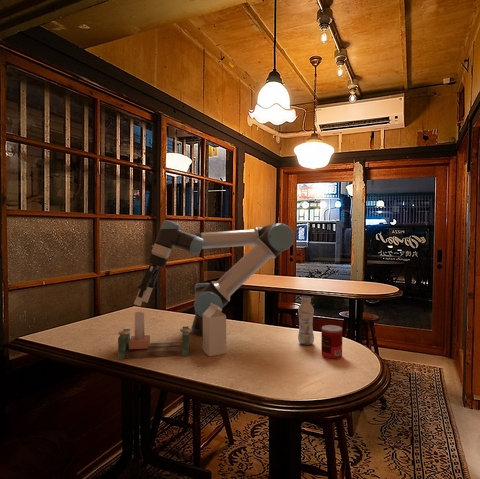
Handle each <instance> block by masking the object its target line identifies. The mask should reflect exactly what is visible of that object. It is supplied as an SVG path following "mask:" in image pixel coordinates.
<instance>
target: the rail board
mask: <svg viewBox="0 0 480 479" xmlns="http://www.w3.org/2000/svg"><path fill="white" fill-rule="evenodd" d="M179 332H180V333H181V334H182V340H181V341H171V342H170V341H168V342H167V341H166V342H165V341H164V342H150V344H149V347H148V348H144V349H129V341H130V339H131V328H123V329H122V330H120V331H118V332H117V334H118V335H119V336H118V338H117V339H118V340H117V346H118V347H117V349H118V351H117V354H118V355H117V356H118V357H117V359H118V360H126V359H130V358H131V359H134V358H135V359H136V358H152V357H154V358H155V357H171V356H172V357H173V356H182V357H187V356H189V354H190V351H189V350H190V346H189V344H190V342H189V339H190V338H189V335H190V332H191V328H189V326H182V328H180V329H179Z"/></svg>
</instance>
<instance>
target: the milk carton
mask: <svg viewBox="0 0 480 479" xmlns="http://www.w3.org/2000/svg"><path fill="white" fill-rule="evenodd" d="M222 311H223V308H222V309H221V308H220V307H218V306H216V305H214V304H212V303H211V306H210V307H209V308H208V309H207V310H206V311H205V312H204V313H203V336H202V352H203V353H205V354H206V355H207V356H208V357H213V356H219V355H224V354H227V315H226V314H225V313H223V312H222Z"/></svg>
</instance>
